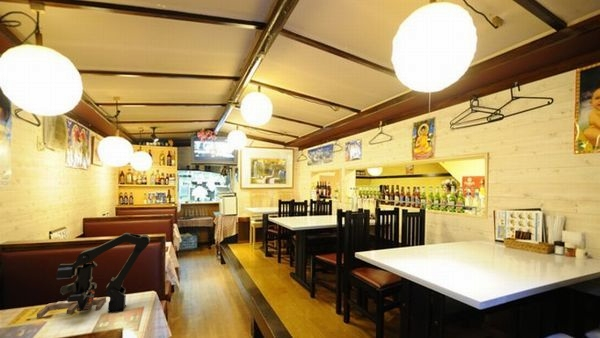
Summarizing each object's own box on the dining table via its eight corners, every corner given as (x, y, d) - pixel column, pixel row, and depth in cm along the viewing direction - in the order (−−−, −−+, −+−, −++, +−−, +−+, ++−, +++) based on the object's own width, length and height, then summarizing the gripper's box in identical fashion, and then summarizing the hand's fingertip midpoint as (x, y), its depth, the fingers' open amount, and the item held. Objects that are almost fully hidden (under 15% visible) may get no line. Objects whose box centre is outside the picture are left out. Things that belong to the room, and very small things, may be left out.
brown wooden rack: (105, 301, 148) (106, 296, 148) (99, 310, 138) (99, 304, 138) (48, 308, 140) (48, 302, 140) (36, 318, 130) (36, 311, 130)
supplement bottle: (82, 309, 132) (87, 284, 137) (73, 311, 133) (78, 287, 138) (94, 309, 137) (98, 285, 142) (85, 311, 138) (89, 287, 143)
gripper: (72, 272, 140) (69, 304, 138) (54, 284, 122) (51, 320, 121) (98, 271, 144) (95, 301, 142) (84, 282, 126) (81, 317, 125)
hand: (81, 309), depth 132 cm, fingers closed, pressing on supplement bottle
